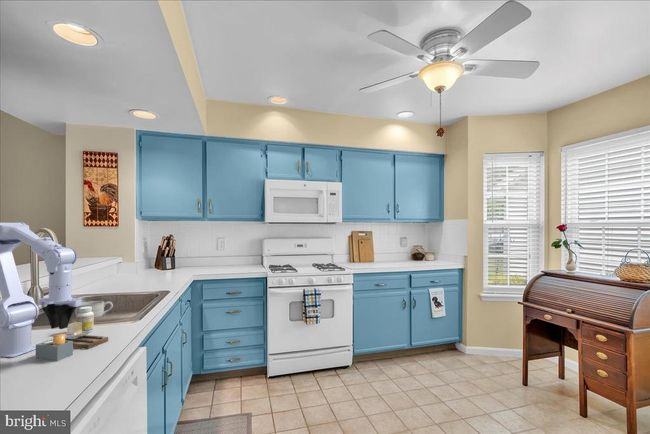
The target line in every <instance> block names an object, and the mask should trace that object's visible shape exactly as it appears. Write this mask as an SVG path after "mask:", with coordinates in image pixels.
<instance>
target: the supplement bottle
mask: <svg viewBox="0 0 650 434" xmlns="http://www.w3.org/2000/svg"><path fill="white" fill-rule="evenodd" d="M91 310H92V307H91V306H87V307H81V308H79V311H80V313H79V314H78V315H77V319H76V322H82V331H89V333H91V332H93V331H94V324H95V323H94V313H93V312H91Z"/></svg>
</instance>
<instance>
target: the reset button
mask: <svg viewBox="0 0 650 434" xmlns="http://www.w3.org/2000/svg"><path fill="white" fill-rule="evenodd" d="M52 339H53V345H56V346H59V345H61V344H64V343H65V333H60V334H59V333H58V334H55V335H53V336H52Z"/></svg>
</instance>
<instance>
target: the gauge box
mask: <svg viewBox="0 0 650 434" xmlns="http://www.w3.org/2000/svg"><path fill="white" fill-rule="evenodd" d="M35 347H36V349H35V360H43V361H52V362H59V361H62V360H64V359H67V358H69V357H71V356H73V355H74V353H73V352H74V348H73V341H66V340H65V343H64V344H61V345H59V346H56V345H53V338H52V339H48V340H44V341H42V342H40V343H37V344H35Z"/></svg>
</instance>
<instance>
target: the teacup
mask: <svg viewBox="0 0 650 434" xmlns="http://www.w3.org/2000/svg"><path fill="white" fill-rule="evenodd" d="M106 305H109V307H108V308H107V309H105V307H106ZM87 306H91V307H92V310H91V312H93V313H94V321H97V320H99V319H101V317H103V316H105V315H106V314H107V313H108V312H110V311H111V310H112V309H113V307H114V304H113V302H112V301H104V300H93V301H92V300H91V301H84V302H81V306H77V307H76V309H75V310H74V317H75V318H76V320H77V315H78V314H79V313H80V311H79V308H81V307H87Z"/></svg>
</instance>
